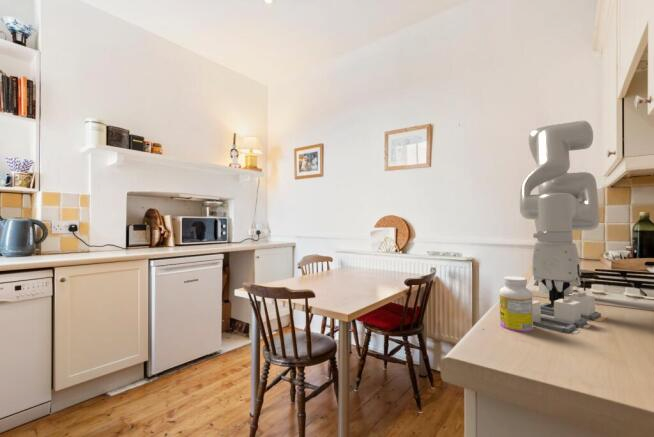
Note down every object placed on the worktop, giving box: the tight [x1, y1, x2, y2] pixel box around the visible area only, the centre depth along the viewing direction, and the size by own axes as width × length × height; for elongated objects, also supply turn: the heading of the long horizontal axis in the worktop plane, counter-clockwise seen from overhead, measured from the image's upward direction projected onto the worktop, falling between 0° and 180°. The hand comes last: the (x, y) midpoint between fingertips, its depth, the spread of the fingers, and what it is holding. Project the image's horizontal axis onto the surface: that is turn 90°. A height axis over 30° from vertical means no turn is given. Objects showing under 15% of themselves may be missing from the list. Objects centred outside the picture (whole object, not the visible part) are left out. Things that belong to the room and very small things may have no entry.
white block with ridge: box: [553, 297, 581, 323], centre depth 77 cm, size 4×4×6 cm
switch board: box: [532, 299, 608, 335], centre depth 80 cm, size 22×15×7 cm
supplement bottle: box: [499, 275, 534, 333], centre depth 74 cm, size 7×7×13 cm
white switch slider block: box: [569, 292, 596, 316], centre depth 81 cm, size 4×4×6 cm
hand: (556, 304), depth 86 cm, fingers closed
